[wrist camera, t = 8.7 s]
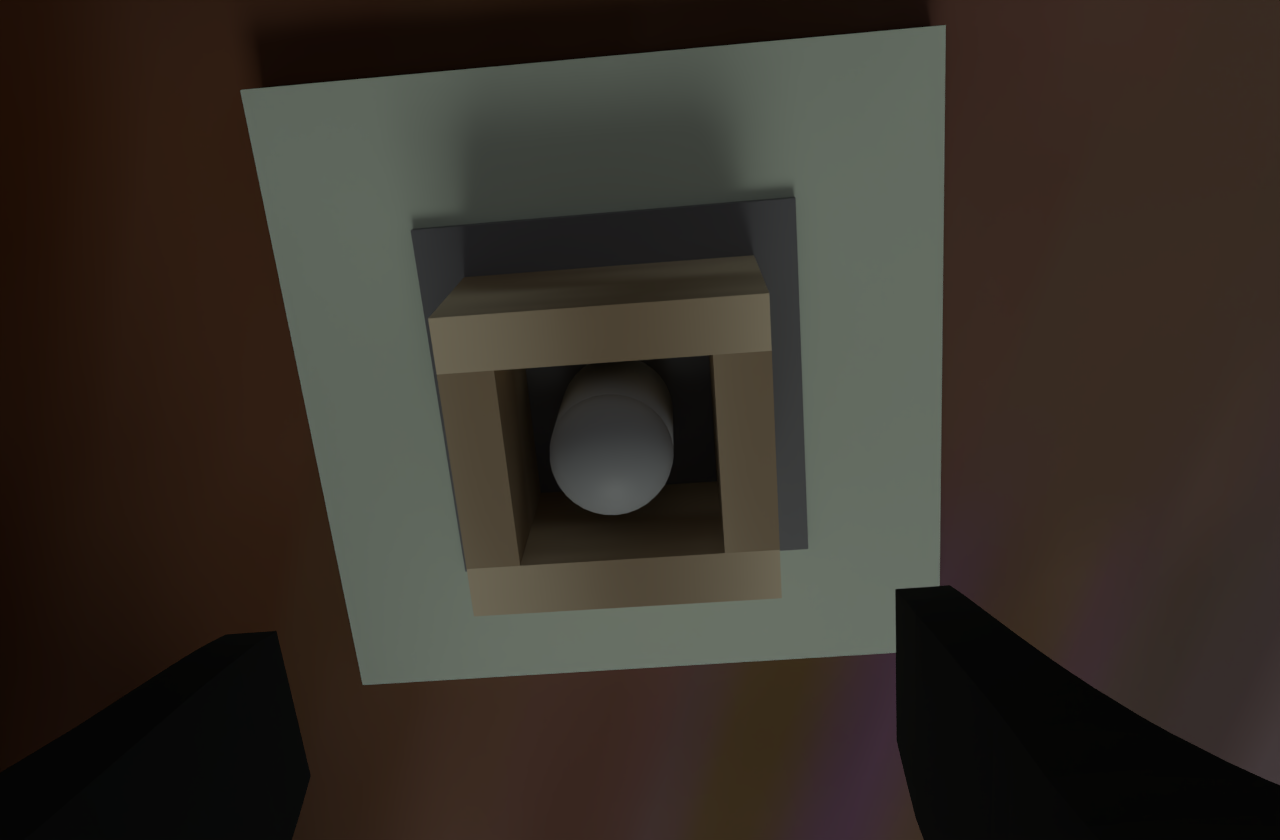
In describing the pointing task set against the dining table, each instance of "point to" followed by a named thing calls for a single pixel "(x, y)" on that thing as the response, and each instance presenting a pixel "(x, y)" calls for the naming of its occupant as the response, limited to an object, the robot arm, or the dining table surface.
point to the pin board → (603, 158)
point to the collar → (551, 522)
